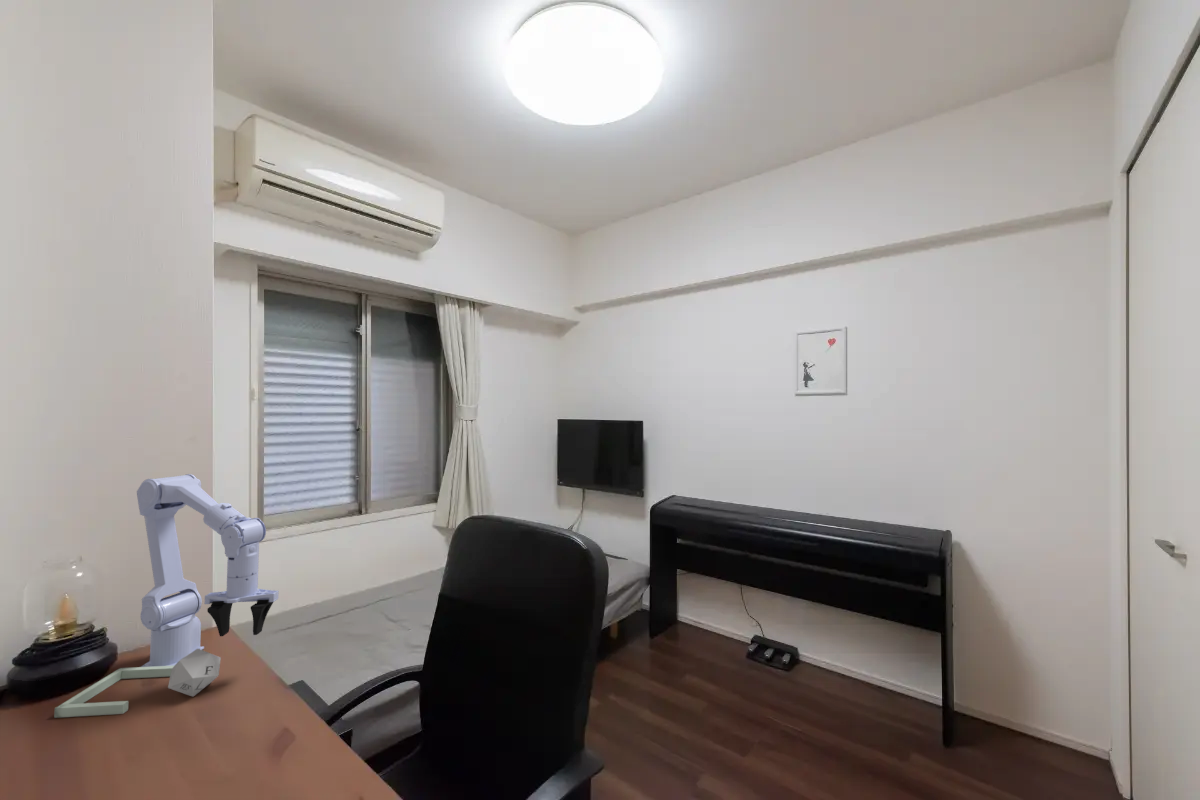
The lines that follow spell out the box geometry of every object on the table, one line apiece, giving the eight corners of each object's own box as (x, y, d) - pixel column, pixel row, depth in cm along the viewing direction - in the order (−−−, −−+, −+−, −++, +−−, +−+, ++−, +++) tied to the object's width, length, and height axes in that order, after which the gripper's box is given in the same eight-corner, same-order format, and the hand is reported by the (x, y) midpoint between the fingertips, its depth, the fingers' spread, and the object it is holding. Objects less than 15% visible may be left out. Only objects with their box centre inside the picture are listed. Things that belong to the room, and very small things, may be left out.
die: (161, 710, 95) (193, 671, 96) (154, 676, 100) (184, 639, 101) (205, 704, 102) (235, 667, 103) (196, 672, 107) (225, 637, 108)
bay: (119, 676, 106) (120, 668, 106) (178, 673, 107) (178, 665, 107) (54, 717, 92) (54, 708, 92) (122, 713, 93) (123, 704, 93)
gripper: (195, 581, 103) (193, 643, 102) (266, 579, 104) (265, 640, 104) (217, 570, 110) (215, 628, 109) (284, 568, 111) (282, 626, 111)
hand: (241, 633), depth 107 cm, fingers open, 6 cm apart
